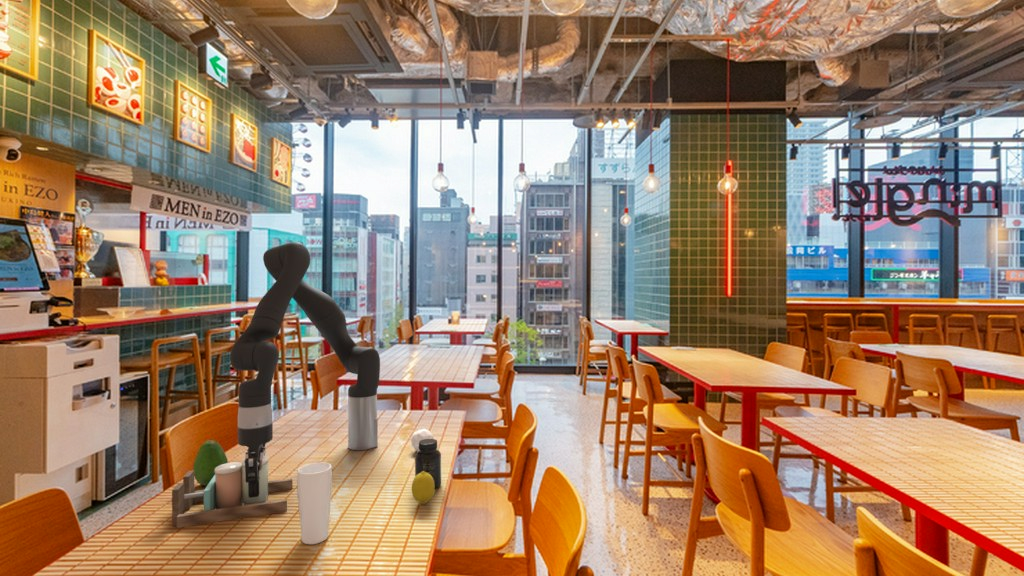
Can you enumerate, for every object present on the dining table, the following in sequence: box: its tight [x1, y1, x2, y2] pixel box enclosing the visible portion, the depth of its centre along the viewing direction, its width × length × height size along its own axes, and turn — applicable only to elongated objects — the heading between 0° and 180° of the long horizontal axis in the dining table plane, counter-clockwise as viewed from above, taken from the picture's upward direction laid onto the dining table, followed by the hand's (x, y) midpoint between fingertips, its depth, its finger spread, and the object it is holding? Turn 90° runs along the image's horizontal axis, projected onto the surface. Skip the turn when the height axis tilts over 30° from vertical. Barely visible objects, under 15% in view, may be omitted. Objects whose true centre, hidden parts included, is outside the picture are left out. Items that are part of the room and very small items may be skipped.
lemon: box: [411, 471, 436, 505], centre depth 114 cm, size 6×6×8 cm
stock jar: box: [215, 461, 244, 509], centre depth 113 cm, size 6×6×10 cm
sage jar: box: [241, 455, 270, 505], centre depth 115 cm, size 6×6×10 cm
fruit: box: [192, 439, 229, 487], centre depth 127 cm, size 8×8×12 cm
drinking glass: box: [296, 461, 333, 545], centre depth 99 cm, size 7×7×15 cm
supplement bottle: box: [414, 438, 442, 491], centre depth 125 cm, size 7×7×12 cm
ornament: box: [410, 427, 434, 452], centre depth 152 cm, size 7×7×8 cm
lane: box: [171, 469, 294, 529], centre depth 114 cm, size 23×14×8 cm, turn 110°
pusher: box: [184, 475, 216, 511], centre depth 111 cm, size 8×11×6 cm
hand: (256, 491), depth 115 cm, fingers closed on sage jar, 5 cm apart
